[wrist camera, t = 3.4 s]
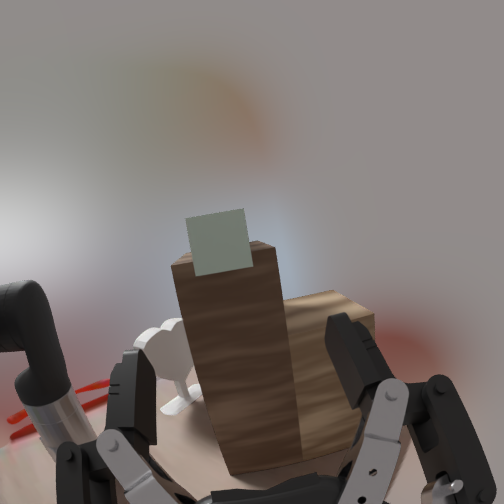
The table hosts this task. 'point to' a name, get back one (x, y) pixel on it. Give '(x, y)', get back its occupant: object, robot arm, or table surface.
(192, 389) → the heart sculpture
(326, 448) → the stand
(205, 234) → the pale green bar
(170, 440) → the table surface
